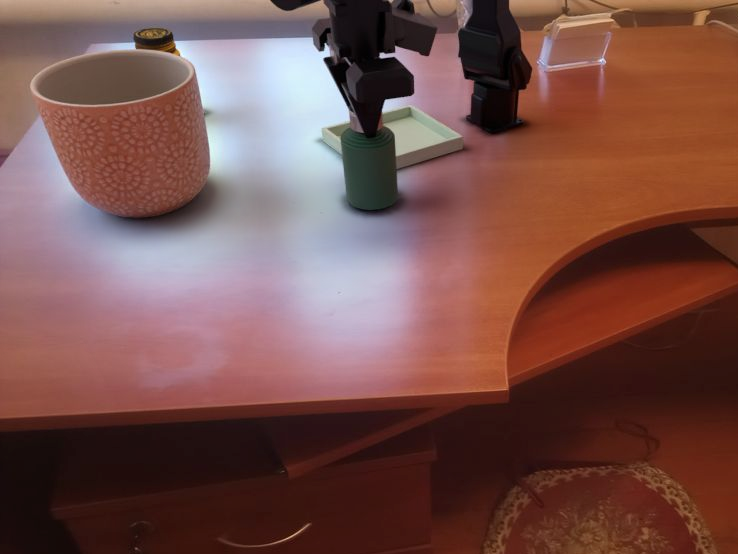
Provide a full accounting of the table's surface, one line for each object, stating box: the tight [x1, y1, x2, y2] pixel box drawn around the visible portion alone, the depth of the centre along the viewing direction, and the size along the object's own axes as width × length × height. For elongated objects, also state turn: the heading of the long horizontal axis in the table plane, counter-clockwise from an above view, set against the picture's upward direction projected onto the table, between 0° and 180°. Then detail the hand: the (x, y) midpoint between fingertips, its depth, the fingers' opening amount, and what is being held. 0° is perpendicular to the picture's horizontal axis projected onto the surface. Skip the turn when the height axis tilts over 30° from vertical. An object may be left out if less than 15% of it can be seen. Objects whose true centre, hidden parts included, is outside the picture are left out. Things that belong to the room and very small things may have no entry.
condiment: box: [132, 27, 206, 114], centre depth 104 cm, size 7×8×12 cm
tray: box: [320, 104, 464, 170], centre depth 102 cm, size 15×13×2 cm
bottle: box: [340, 126, 399, 211], centre depth 87 cm, size 6×6×11 cm
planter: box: [29, 48, 211, 219], centre depth 85 cm, size 17×17×15 cm
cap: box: [348, 105, 384, 133], centre depth 84 cm, size 4×4×2 cm
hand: (365, 130), depth 85 cm, fingers closed on cap, 4 cm apart
